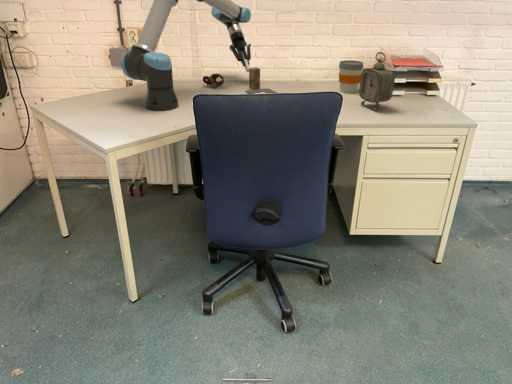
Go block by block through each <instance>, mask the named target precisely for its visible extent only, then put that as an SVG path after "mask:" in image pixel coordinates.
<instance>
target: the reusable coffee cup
mask: <svg viewBox="0 0 512 384" xmlns="http://www.w3.org/2000/svg"><path fill="white" fill-rule="evenodd" d="M338 69H339V72H338V82H339V91H340V92H341V93H344V94H356V93H357V92H358V88H359V86H360V79H361V74H362V71H363V69H364V62H362V61H359V60H351V59H350V60H341V61H339V64H338Z"/></svg>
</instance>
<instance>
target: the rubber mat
mask: <svg viewBox="0 0 512 384" xmlns="http://www.w3.org/2000/svg"><path fill="white" fill-rule="evenodd" d="M244 92H245V93H247V94H248V95H250V94H255V93H261V92H265V93H278V92H277V91H276V90H275V91H274V90H272V89H271V88H260V89H257V90H251V89H250V90H245V91H244Z"/></svg>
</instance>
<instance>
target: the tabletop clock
mask: <svg viewBox="0 0 512 384" xmlns="http://www.w3.org/2000/svg"><path fill="white" fill-rule="evenodd" d="M379 54H381V55H383V57H384V59H383V60H382V58H379V59H378V58H377V57H378V55H379ZM375 59H376V61H377V62H376V63H374V65H373V66H372V67H368V68H363V69H362V73H361V79H360V83H359V86H358V88H359V90H358V92H359V93H358V94H359V97H360V98H361V99H362V100H363V101H360V104H361V106H363V105H365V102H369V103H371V104H375V107H374V108H373V110H374V112H377V111H378V110H379V107H380V104H379V103H382V102H383V103H384V102H389V101H390V100H392V97H393V92H394V88H395V80H396V75H395V73H394V72H393V71H391V70H389V69H386V65H385V64H384V62H385V61H386V54H385V53H384V52H382V51H379V52H377V53H376V54H375Z"/></svg>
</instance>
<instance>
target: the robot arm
mask: <svg viewBox="0 0 512 384" xmlns="http://www.w3.org/2000/svg"><path fill="white" fill-rule="evenodd" d="M195 1H197V2H198V3H204V4H206V5H208V6H209V7H211V16H212V17H213V18H214V19H215V20H217V21H219V22H220V23H222V24H224V25H225V26H226V29H227V32H228V35H229V38H230V41H231V44H230V45H229V47H228V48H229V50H230V51H231V52H232V53H233V55H234V58H236V60H237V62H240V63H241V64H242V67H244V70H245V72H246V73H249V68H251V67H250V65H251V64H250V60H251V58H252V54H251V46H252V45H251V43H247V42H246V39H245V36H244V33H243V30H242V28H241V25H239V24H240V23H241V24H246V23H247V24H248V23H249V22H250V20H251V17H252V13H251V10H250V8H247V7H244V6H243V7H242V6H240V5H238V4H237V3H236V2H234V1H233V0H195ZM178 2H179V0H153V2H152V4H151V6H150V9H149V12H148V14H147V17H146V19H145V22H144V25H143V27H142V30H141V32H140V34H139V37H138V40H137V42H136V44H133V45H132V46H131V48H130V49H129V50H130V51H128V52H126V53H124V54H123V55H122V57H121V58H120V59H121V60H120V68H121V70H122V72H123V74H124V75H125V76H126V77H128V78H129V79H133V80H135V81H136V80H137V81H142V82H146V86H147V93H146V97H145V103H144V104H145V108H146V109H148V110H150V111H168V110H173V109H176V108H178V107H179V106H180V105H179V99H178V96H177V94H176V92H175V90H174V79H173V64H172V60H171V57H170V56H169V55H168V54H166V53H162V52H156V50H157V47H158V44H159V42H160V39H161V37H162V34H163V32H164V29H165V26H166V25H167V22H168V19H169V16H170V13H171V12H172V8H173V7H176V6H177V4H178Z"/></svg>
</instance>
